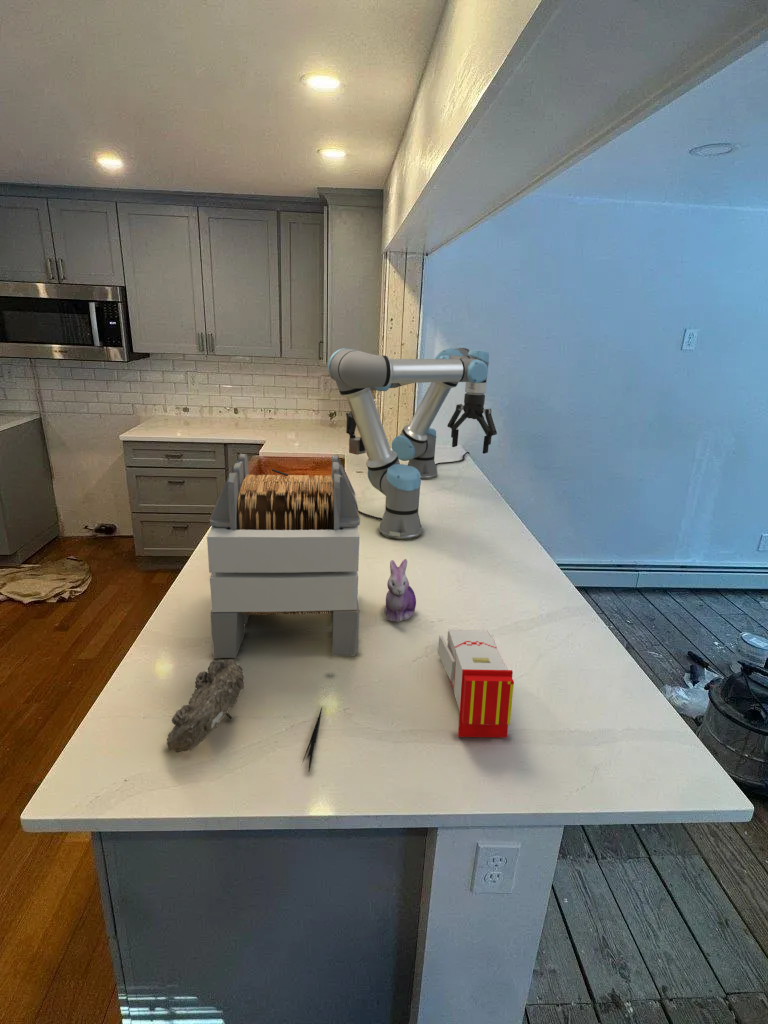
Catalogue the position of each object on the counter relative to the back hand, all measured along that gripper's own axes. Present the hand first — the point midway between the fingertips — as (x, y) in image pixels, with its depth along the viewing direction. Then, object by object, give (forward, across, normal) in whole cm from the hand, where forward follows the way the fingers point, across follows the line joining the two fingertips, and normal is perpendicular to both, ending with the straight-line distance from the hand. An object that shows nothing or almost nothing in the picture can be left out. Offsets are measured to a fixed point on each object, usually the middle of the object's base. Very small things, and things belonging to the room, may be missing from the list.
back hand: (357, 449), depth 272 cm
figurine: (+11, +102, -92) cm, 138 cm away
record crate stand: (+11, +84, -114) cm, 142 cm away
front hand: (-14, +70, -12) cm, 72 cm away
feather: (+11, +116, -134) cm, 178 cm away
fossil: (+11, +101, -148) cm, 179 cm away
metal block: (+2, 0, 0) cm, 2 cm away
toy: (+12, +132, -107) cm, 170 cm away
